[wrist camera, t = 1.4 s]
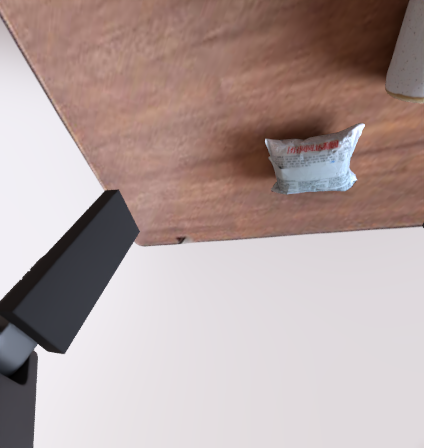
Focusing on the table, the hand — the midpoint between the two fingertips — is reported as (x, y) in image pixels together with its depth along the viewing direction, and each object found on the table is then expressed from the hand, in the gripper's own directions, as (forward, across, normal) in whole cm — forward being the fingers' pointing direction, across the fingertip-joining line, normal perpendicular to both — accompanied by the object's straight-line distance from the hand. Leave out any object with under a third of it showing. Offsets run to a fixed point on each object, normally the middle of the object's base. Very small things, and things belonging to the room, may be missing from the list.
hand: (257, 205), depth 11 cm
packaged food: (+27, +5, -11) cm, 30 cm away
